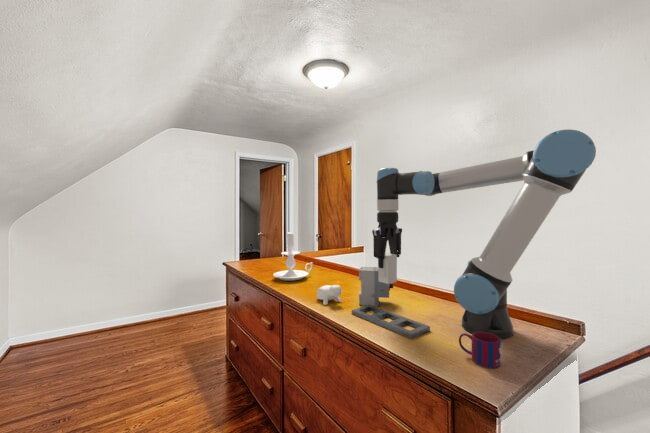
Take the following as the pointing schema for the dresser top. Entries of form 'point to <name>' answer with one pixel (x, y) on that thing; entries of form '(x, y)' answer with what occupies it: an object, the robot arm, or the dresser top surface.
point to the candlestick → (291, 263)
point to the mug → (484, 349)
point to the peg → (389, 269)
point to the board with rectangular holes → (393, 325)
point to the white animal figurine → (329, 293)
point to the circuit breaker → (372, 287)
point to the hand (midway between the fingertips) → (387, 275)
